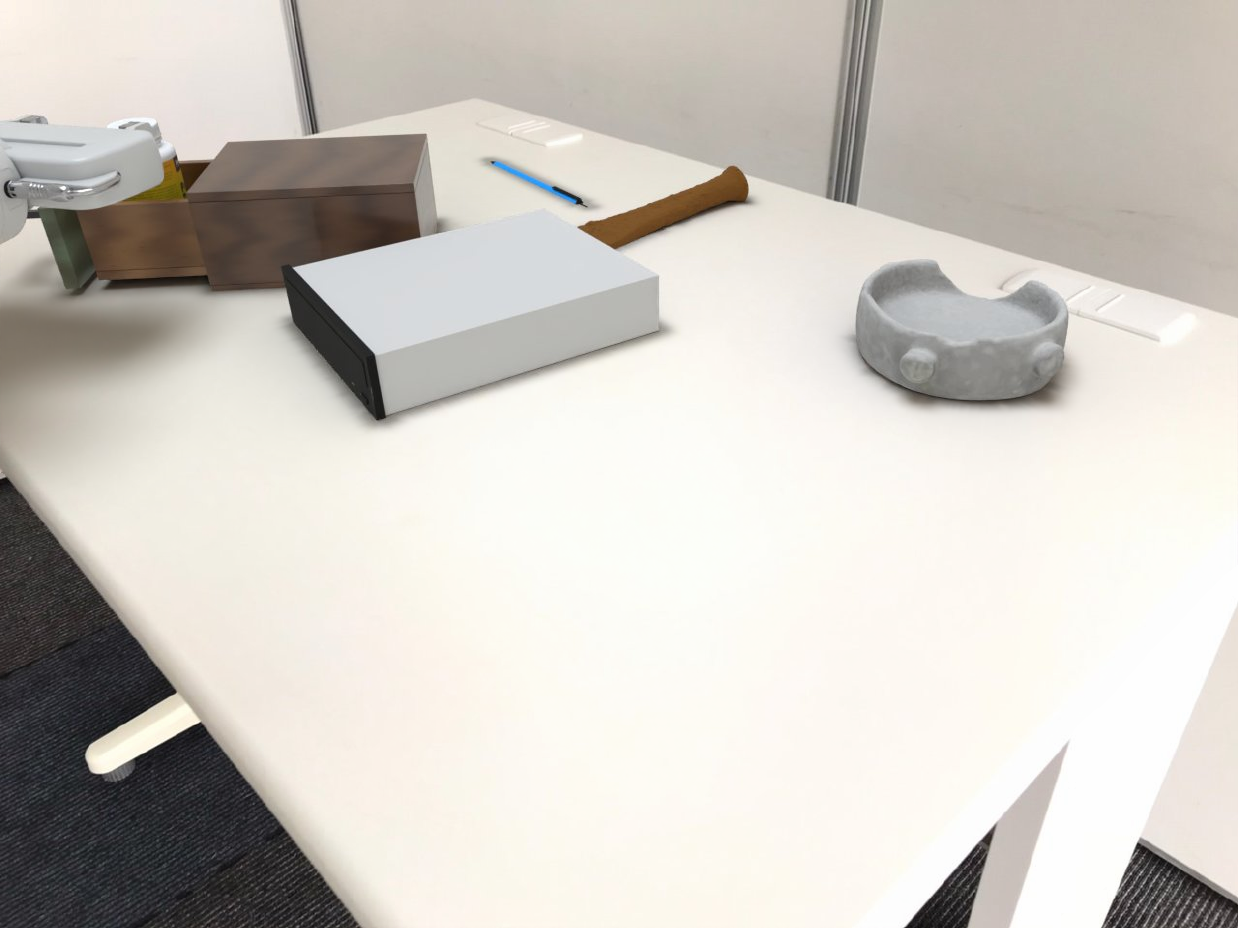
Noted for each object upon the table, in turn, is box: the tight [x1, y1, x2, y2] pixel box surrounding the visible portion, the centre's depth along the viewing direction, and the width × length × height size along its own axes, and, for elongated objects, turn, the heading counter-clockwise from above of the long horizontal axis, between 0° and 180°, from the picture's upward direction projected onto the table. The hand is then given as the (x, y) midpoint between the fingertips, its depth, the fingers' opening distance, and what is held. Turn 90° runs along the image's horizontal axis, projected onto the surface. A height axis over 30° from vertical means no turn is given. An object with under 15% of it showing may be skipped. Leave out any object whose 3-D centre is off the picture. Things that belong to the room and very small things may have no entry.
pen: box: [490, 160, 589, 208], centre depth 104 cm, size 1×19×1 cm, turn 36°
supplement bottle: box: [105, 117, 187, 201], centre depth 85 cm, size 6×6×10 cm
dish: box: [855, 258, 1070, 401], centre depth 70 cm, size 14×14×5 cm
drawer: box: [26, 158, 214, 290], centre depth 86 cm, size 21×12×7 cm, turn 95°
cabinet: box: [186, 133, 439, 292], centre depth 87 cm, size 18×14×9 cm
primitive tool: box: [576, 165, 750, 250], centre depth 94 cm, size 19×6×4 cm, turn 130°
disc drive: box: [281, 208, 660, 421], centre depth 75 cm, size 18×22×5 cm
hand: (92, 128), depth 78 cm, fingers open, 8 cm apart
